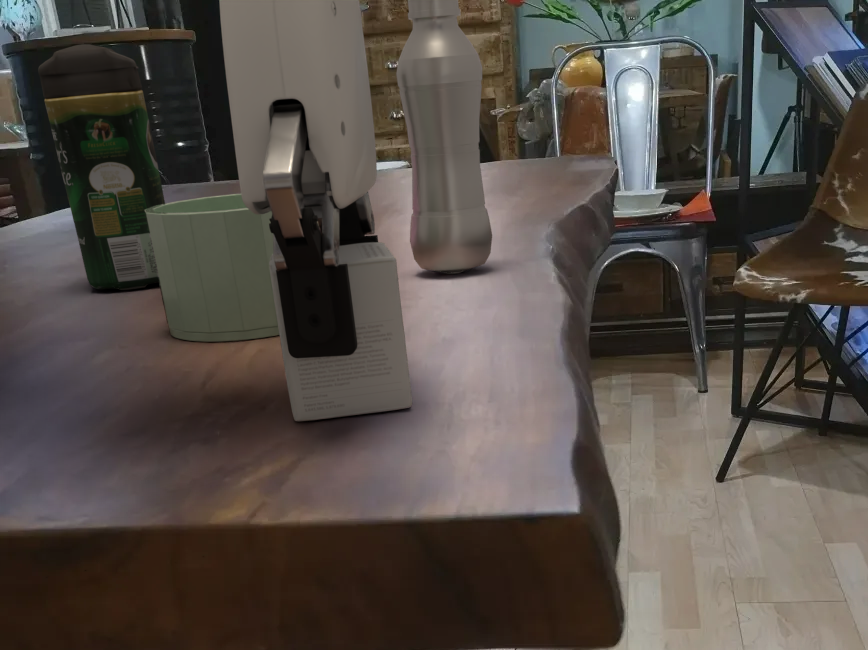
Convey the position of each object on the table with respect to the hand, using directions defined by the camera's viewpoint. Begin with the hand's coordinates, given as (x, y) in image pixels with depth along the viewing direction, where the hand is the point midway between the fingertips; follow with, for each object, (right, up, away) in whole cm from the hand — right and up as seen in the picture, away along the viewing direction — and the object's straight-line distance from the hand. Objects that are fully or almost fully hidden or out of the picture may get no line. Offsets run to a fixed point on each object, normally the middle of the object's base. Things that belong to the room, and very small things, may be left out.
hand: (341, 332), depth 56 cm
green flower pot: (-9, +7, +22) cm, 25 cm away
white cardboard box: (0, -3, +2) cm, 4 cm away
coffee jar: (-24, +16, +42) cm, 51 cm away
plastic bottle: (+5, +15, +35) cm, 38 cm away
